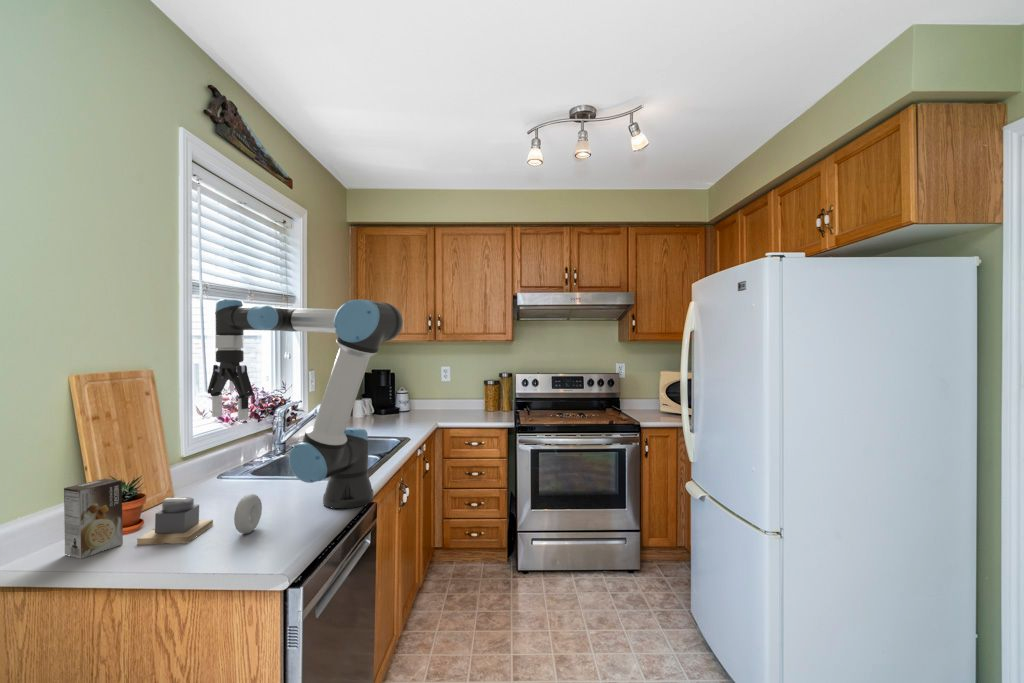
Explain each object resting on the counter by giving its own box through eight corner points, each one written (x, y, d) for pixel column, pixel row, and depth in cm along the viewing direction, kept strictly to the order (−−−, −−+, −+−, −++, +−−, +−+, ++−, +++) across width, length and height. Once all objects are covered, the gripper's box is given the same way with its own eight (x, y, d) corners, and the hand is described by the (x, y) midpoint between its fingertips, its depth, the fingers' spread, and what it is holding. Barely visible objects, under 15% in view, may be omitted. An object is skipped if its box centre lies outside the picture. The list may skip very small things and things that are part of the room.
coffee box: (106, 541, 125) (106, 477, 125) (123, 544, 122) (123, 479, 122) (63, 555, 116) (63, 487, 116) (80, 559, 114) (80, 490, 114)
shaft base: (212, 525, 135) (212, 501, 135) (188, 542, 123) (188, 516, 123) (166, 526, 134) (166, 502, 134) (137, 544, 122) (137, 518, 122)
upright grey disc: (244, 540, 125) (244, 500, 125) (231, 540, 125) (231, 500, 125) (264, 525, 135) (264, 488, 135) (251, 525, 135) (251, 488, 135)
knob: (198, 523, 133) (199, 494, 133) (184, 533, 126) (185, 502, 126) (171, 523, 132) (172, 494, 132) (154, 533, 125) (155, 502, 125)
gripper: (266, 349, 150) (266, 419, 150) (218, 349, 163) (218, 413, 162) (242, 349, 144) (242, 422, 144) (194, 349, 156) (194, 416, 156)
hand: (229, 418), depth 153 cm, fingers open, 13 cm apart
